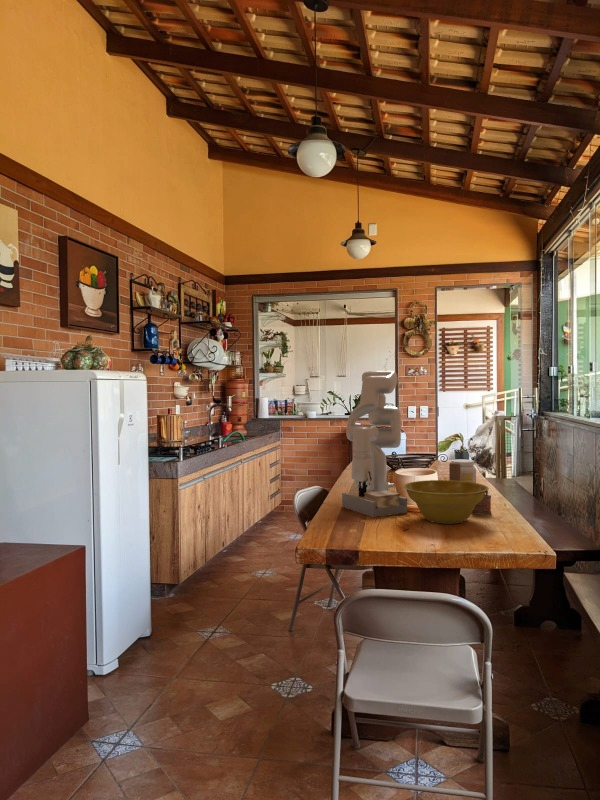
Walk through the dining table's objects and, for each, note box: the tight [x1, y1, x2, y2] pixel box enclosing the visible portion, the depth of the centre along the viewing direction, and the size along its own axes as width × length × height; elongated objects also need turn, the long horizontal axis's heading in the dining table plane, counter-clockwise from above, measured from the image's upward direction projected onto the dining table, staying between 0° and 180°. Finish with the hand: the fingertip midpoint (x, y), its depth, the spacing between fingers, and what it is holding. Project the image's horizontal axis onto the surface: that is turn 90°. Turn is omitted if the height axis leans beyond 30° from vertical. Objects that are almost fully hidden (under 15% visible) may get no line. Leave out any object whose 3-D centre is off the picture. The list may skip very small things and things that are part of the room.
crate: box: [364, 490, 401, 509], centre depth 236 cm, size 11×9×6 cm
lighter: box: [471, 489, 492, 515], centre depth 233 cm, size 8×3×10 cm, turn 65°
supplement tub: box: [450, 458, 477, 483], centre depth 270 cm, size 12×12×17 cm
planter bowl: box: [403, 479, 489, 525], centre depth 222 cm, size 32×32×13 cm
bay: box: [341, 490, 408, 518], centre depth 242 cm, size 17×23×6 cm
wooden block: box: [448, 462, 461, 481], centre depth 252 cm, size 9×4×18 cm, turn 70°
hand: (362, 496), depth 250 cm, fingers closed
